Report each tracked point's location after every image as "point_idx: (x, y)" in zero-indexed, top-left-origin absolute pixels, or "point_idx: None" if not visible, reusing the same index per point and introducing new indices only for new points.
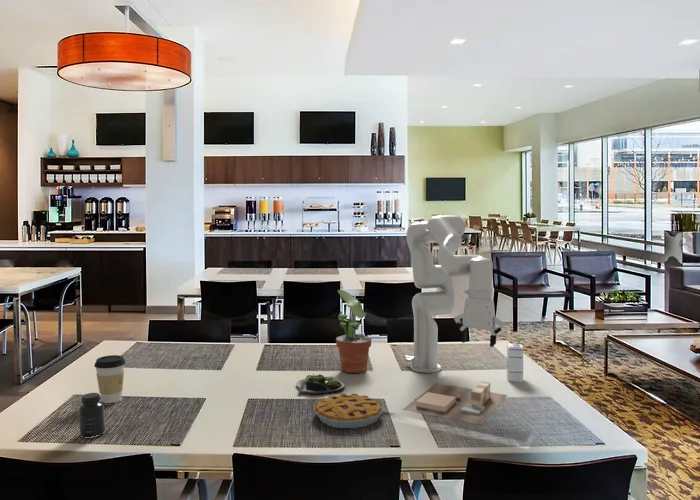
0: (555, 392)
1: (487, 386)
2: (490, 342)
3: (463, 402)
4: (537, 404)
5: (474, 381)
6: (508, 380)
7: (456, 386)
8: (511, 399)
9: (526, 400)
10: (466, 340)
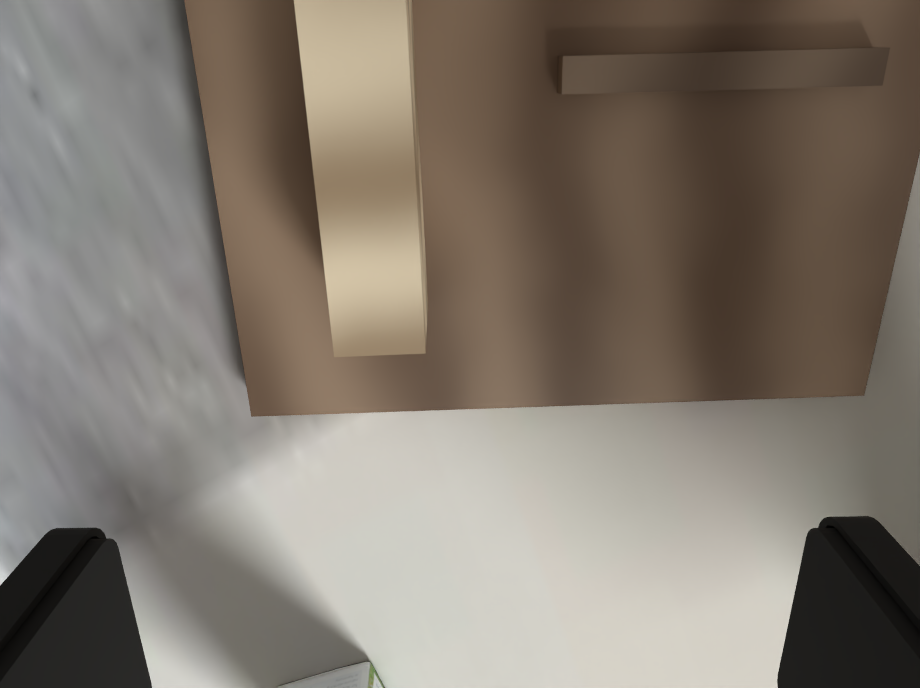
0: None
1: (323, 249)
2: (35, 610)
3: (511, 34)
4: (27, 409)
5: (598, 615)
6: (362, 685)
7: (683, 399)
8: (231, 412)
9: (130, 446)
10: (786, 673)
